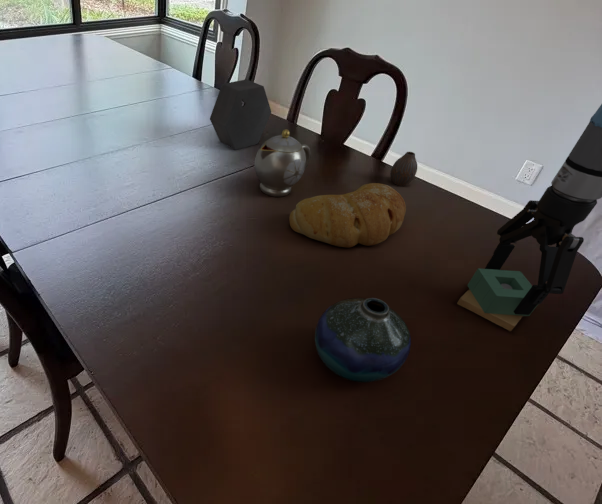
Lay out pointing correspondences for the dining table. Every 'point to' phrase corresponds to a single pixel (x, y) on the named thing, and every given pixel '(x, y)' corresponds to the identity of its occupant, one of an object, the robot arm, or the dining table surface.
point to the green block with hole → (499, 290)
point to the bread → (351, 216)
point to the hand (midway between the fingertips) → (505, 291)
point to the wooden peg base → (499, 319)
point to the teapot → (281, 164)
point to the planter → (240, 113)
